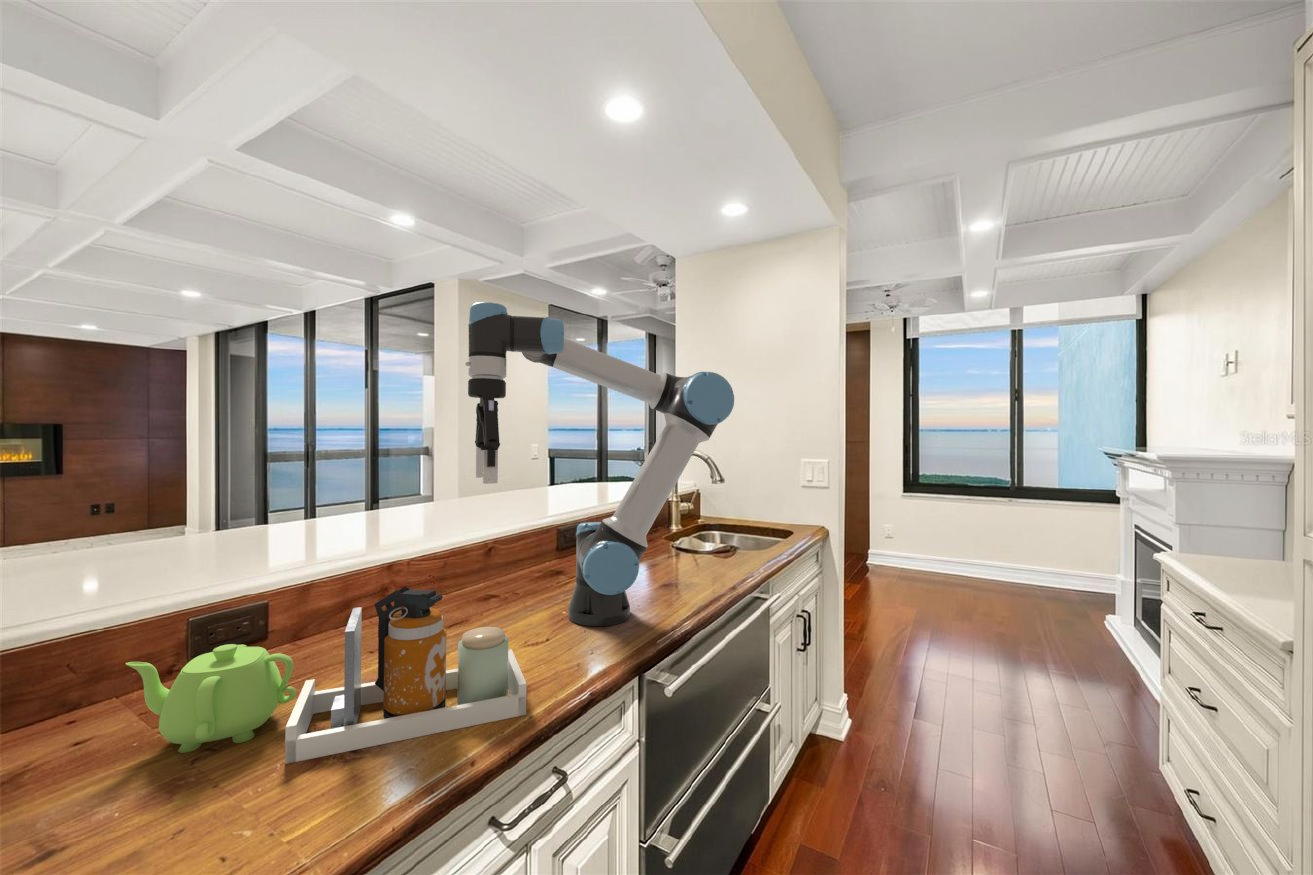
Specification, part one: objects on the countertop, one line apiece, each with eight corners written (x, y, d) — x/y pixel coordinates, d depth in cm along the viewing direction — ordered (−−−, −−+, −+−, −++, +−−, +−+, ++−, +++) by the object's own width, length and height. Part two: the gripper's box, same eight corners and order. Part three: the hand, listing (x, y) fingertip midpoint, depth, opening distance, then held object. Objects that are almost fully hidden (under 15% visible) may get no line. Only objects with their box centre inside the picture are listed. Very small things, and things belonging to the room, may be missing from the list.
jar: (503, 685, 94) (504, 623, 94) (511, 707, 86) (512, 639, 86) (455, 694, 90) (456, 629, 90) (459, 717, 83) (459, 647, 83)
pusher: (360, 705, 86) (361, 607, 86) (353, 741, 76) (354, 630, 76) (337, 709, 84) (338, 609, 84) (327, 746, 75) (328, 633, 74)
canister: (423, 733, 79) (425, 599, 78) (357, 725, 80) (359, 594, 80) (456, 703, 87) (457, 582, 87) (396, 696, 89) (397, 578, 89)
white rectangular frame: (511, 676, 97) (511, 649, 97) (526, 714, 84) (526, 683, 84) (305, 711, 84) (305, 680, 84) (285, 764, 71) (285, 727, 71)
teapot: (171, 781, 67) (171, 683, 67) (124, 748, 74) (124, 659, 74) (304, 720, 82) (305, 639, 82) (255, 697, 88) (255, 622, 88)
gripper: (463, 382, 120) (462, 475, 120) (474, 371, 97) (472, 486, 98) (497, 384, 123) (496, 475, 123) (515, 374, 101) (514, 485, 101)
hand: (486, 480), depth 111 cm, fingers open, 13 cm apart
